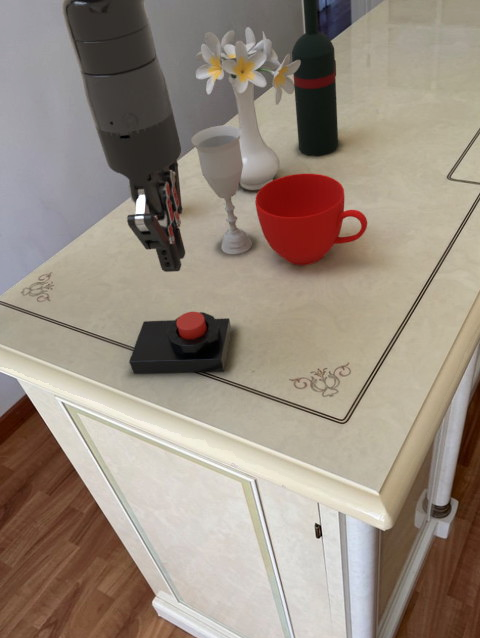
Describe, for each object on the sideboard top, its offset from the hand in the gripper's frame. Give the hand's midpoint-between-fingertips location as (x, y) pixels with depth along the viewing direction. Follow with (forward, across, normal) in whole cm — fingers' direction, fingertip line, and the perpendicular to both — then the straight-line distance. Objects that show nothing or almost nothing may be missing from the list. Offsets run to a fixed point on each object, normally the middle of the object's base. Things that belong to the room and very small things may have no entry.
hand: (174, 263), depth 68 cm
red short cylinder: (+10, 0, 0) cm, 10 cm away
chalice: (+14, -25, +2) cm, 29 cm away
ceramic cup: (+14, -21, +15) cm, 29 cm away
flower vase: (+14, -46, +4) cm, 48 cm away
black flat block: (+14, 0, -2) cm, 14 cm away
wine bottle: (+14, -60, +15) cm, 63 cm away
